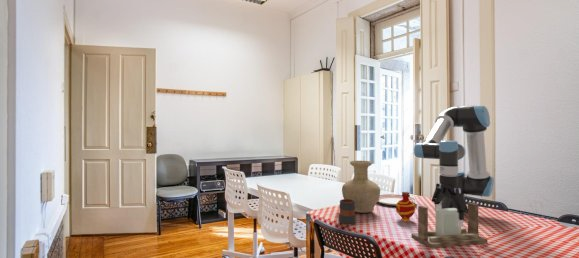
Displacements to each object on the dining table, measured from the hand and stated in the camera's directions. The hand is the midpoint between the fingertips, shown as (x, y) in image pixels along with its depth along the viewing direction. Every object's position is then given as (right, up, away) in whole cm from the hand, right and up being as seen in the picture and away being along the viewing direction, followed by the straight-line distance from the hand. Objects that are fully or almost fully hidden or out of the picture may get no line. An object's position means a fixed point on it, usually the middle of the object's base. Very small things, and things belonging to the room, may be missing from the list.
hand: (448, 222), depth 145 cm
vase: (-29, -8, +49) cm, 57 cm away
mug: (-40, -8, +28) cm, 50 cm away
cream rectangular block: (0, -6, 0) cm, 6 cm away
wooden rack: (0, -8, 0) cm, 8 cm away
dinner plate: (-1, -8, +71) cm, 72 cm away
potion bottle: (-8, -8, +31) cm, 33 cm away
